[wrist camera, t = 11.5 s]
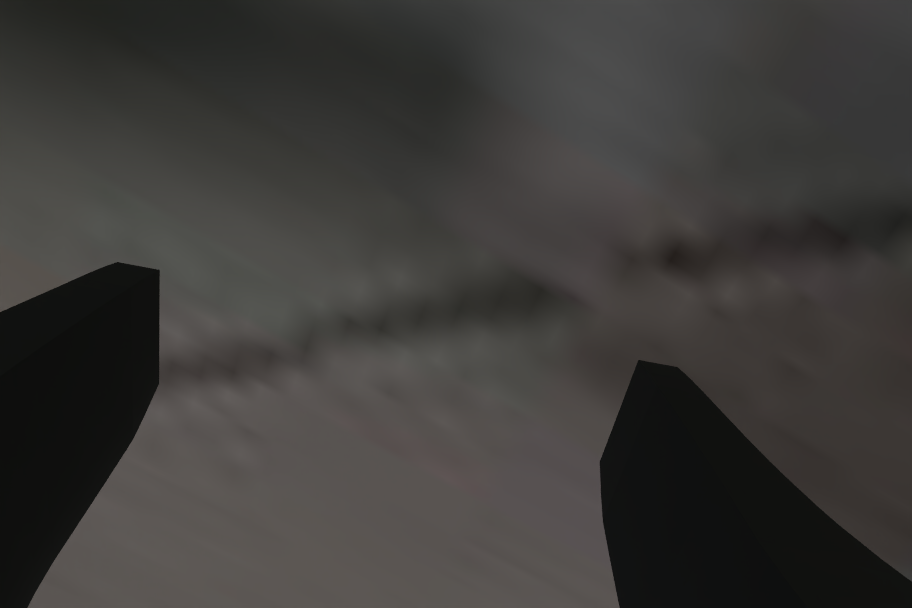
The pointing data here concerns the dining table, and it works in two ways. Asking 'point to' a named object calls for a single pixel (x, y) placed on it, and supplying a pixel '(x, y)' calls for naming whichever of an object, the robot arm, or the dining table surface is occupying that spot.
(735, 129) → the dining table surface
